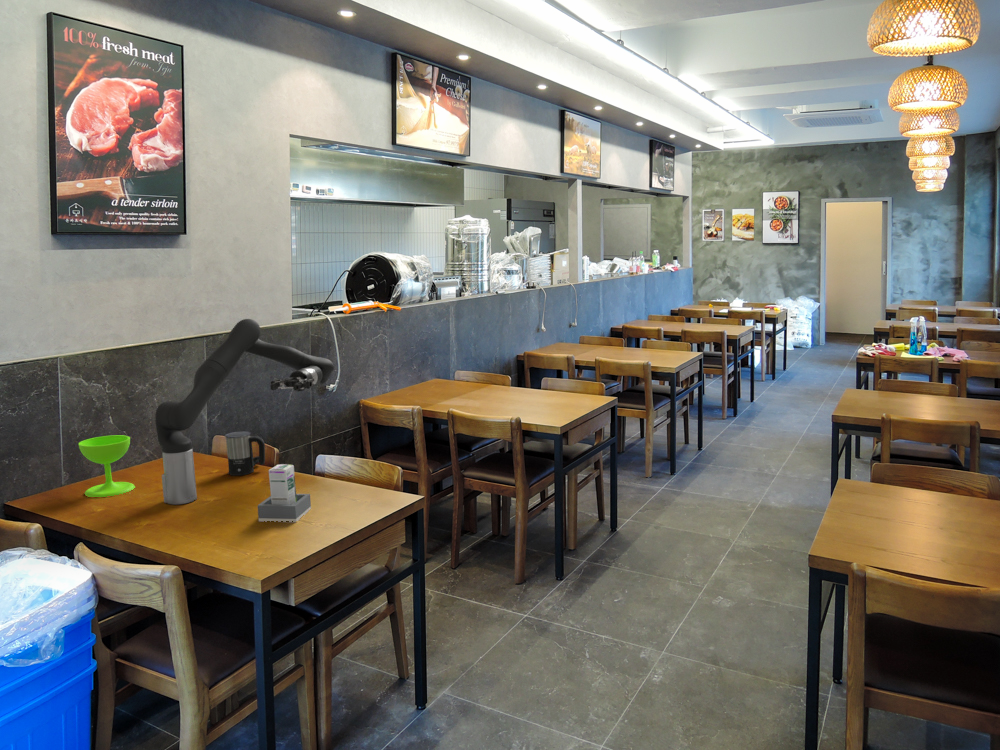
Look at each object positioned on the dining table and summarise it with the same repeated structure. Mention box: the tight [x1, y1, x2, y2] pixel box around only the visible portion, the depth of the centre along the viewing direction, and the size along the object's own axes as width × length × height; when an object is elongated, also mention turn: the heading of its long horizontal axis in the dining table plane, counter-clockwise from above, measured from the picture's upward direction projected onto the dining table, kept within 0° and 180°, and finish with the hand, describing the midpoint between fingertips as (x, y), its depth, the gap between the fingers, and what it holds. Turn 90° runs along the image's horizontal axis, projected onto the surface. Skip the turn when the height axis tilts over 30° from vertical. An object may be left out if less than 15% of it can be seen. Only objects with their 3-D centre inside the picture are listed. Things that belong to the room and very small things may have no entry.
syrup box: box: [268, 463, 297, 505], centre depth 234 cm, size 6×6×14 cm
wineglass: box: [78, 434, 136, 498], centre depth 264 cm, size 16×16×18 cm
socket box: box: [257, 493, 312, 523], centre depth 235 cm, size 12×12×5 cm
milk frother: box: [224, 430, 266, 476], centre depth 287 cm, size 14×16×15 cm
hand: (283, 387), depth 259 cm, fingers open, 8 cm apart
